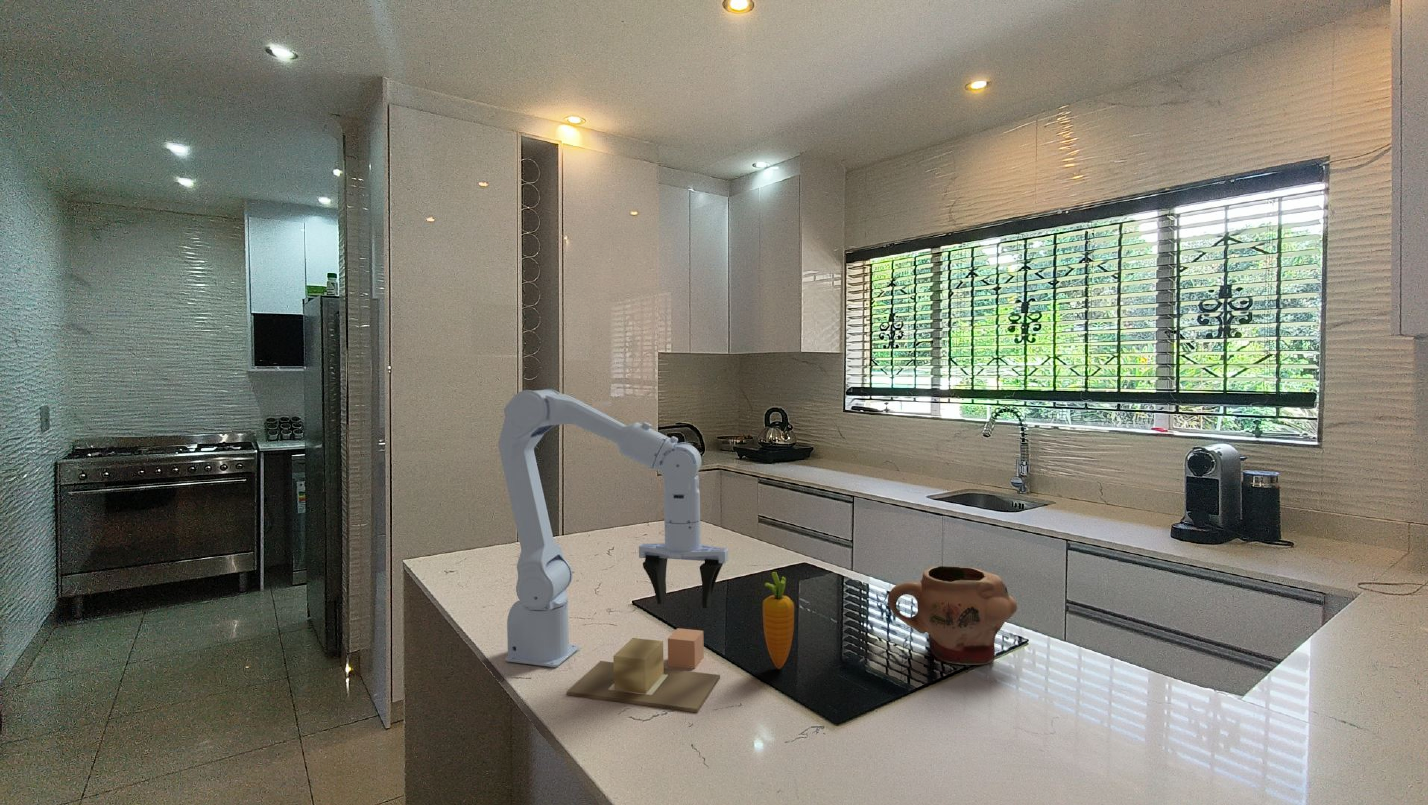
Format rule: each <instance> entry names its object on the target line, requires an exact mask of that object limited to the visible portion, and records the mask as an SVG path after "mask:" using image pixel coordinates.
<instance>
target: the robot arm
mask: <svg viewBox="0 0 1428 805" xmlns="http://www.w3.org/2000/svg"><path fill="white" fill-rule="evenodd" d="M503 413H504V420H503V424H502V428H501V431H500V436H499V438H498V442H497V443H498V444H497V446H498V451H499V455H500V460H501V464H502V470H503V474H504V477H505V482H506V487H507V491H508V496H509V500H510V505H511V509H512V512H513V513H512V514H513V519H514V522H515V527H516V532H517V536H518V542H519V545H520V549H521V550H520V553H519V557H518V560H517V563H516V564H517V565H516V570H517V581H516V585H515V592H516V596H517V598H518V600H517V601H515V602H514V603H513V604H512V606H511V607H510V608H509V611H508V614H507V620H506V632H507V639H506V640H507V656H506V657H505V658H504V659H505V660H504V661H505V662H507V663H508V662H509V663H516V664H517V663H518V664H525V665H533V666H540V667H541V666H542V667H551V668H557V667H558V666H560V665H561V664H562V663H563V662H565V661H566V660H567V659H569V658H570V657H571V656H573V654H575V653H576V652H577V651H578V650H579V649H580V646H579V645H576V644H575V645H574V644H570V638H569V637H570V633H569V632H570V630H569V628H570V626H569V596H568V595H567V588H568V587H570V585H571V583H572V580H573V570H572V566H571V565H570V563H569V562H568V561H567V560H566V558H565V556H564V553H563V549H562V547H561V546H560V545H559V544H558V543H557V542H556V541H555V539H554V535H553V531H552V526H551V523H550V522H551V521H550V518H549V513H548V508H547V503H546V499H545V495H544V489H543V487H542V486H543V485H542V482H541V478H540V472H539V469H538V464H537V459H536V454H535V448H536V446H537V445H538V443H539V442H540V441H541V439H542V438H543V437H544V436H545V434H546V433H547V432H549V431H550V430H552V428H554V427H555V426H560V425H574V426H576V427H579V428H581V429H582V430H583V429H584V430H586V431H589V432H591V433H592V434H594V435H597V436H600V437H602V438H604V439H606V440H609V441H611V442H613V443H616V444H617V446H618V449H619V452H620V453H621V455H622V456H623V457H624V456H625V457H626V458H629V459H631V460H633V461H635V462H637V463H639V464H641V465H643V466H645V467H647V468H649V469H650V470H654V471H656V472H657V471H659V472H660V475H661V476H662V479H664V491H663V504H664V505H663V506H664V507H663V508H664V509H663V511H664V542H663V543H646V542H645V543H644V542H643V543H642V544H641V545H638V558H639V559H644V561H643V562H642V568H643V569H644V571H645V573H646V575H647V576H648V579H649V580H650V582H651V585H652V588H653V592H654V595H655V598H656V603H657V605H662V604H663V603H664V602H666V601H667V567H668V559H670V560H681V561H682V560H683V561H684V560H686V561H697V562H698V561H700V562H704V563H702V564H701V565H700V566H699V572H700V579H701V586H702V590H701V591H702V595H701V598H702V599H701V600H702V601H701V604H702V608H703V609H708V608H709V607H710V606H711V604H712V603H711V602H712V597H713V592H714V588H715V584H716V581H717V579H718V576H719V574H720V572H721V569H722V567H723V565H725V564H726V563H727V562H728V561H729V548H727V547H717V546H713V545H712V546H711V545H707V544H706V545H705V544H701V540H702V539H701V537H702V536H701V492H700V487H699V486H700V480H699V478H700V477H699V474H698V473H699V471H700V469H701V467H702V456H701V453H700V451H699V450H698V448H696V447H695V446H693V445H692V444H691V443H690V442H686V441H685V442H679V438H678V437H676V436H671V437H669V436H667V435H665V434H663V433H661V432H659V431H656V430H655V429H653V428H652V427H653V425H652V424H651V423H649V422H647V421H645V422H642V423H640V422H638V421H636V422H633V423H630V424H628V425H627V424H624V423H622V422H621V421H619V420H617V419H616V418H613V417H611V416H610V415H607V414H605V413H604V412H602V411H600V410H598V409H596V408H594V407H593V406H590V404H589V405H588V404H586V403H584V402H583V401H581V400H579V399H577V398H575V397H573V396H571V395H568V394H565V393H560V392H559V391H557V390H555V389H551V388H545V389H541V390H540V389H539V390H531V389H525V390H521V391H519V392H518V393H516V394H515V395H513V397H512V398H511V399H510V400H509V401H508V403H507V404H506V406H505V407H504V408H503Z"/></svg>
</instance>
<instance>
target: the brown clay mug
mask: <svg viewBox="0 0 1428 805" xmlns="http://www.w3.org/2000/svg"><path fill="white" fill-rule="evenodd" d="M905 595H909V596H911V597H913V598H914V599H915V600H916V603H917V612H916V614H915V615H912V616H911V617H910V616H909V617H907V616H905V615H903V614H902V613H901V612H900V611H899V608H897V603H898V601H899V599H900V598H901V597H902V596H905ZM887 603H888V606H889V609H890V610H891V613H893V615H895V616H896V617H897V618H898V619H899V620H901V622H903V623H905V625H906V626H908V627H910V628H912V629H913V630H915V631H916V632H918V633H919V634H923V635H924V634H926V633H928V639H929V640H928V642H929V649H930V652H931V653H932V654H933V655H934V657H936V658H937V659H938V660H941V661H943V662H946V663H948V664H949V663H950V664H955V665H956V664H957V665H965V666H967V665H968V666H970V665H971V666H972V665H973V666H974V665H975V666H976V665H977V666H978V665H986V664H990V663H991V662H992V661H993V660H995V657H996V655H995V654H996V653H995V652H996V650H995V638H996V636H997V634H998V632H999V631H1000V630H1001V629H1002V628H1003V626H1004V624H1005V623H1006V622H1007V621H1008V620H1009V619H1011V617H1013V615H1015V614H1016V612H1017V609H1018V605H1017V601H1016V600H1015V599H1014V597H1013V596H1011V595H1010V594H1009V592H1008V588H1007V585H1006V584H1005V582H1004V581H1003V579H1002V578H1001V577H1000V576H999V575H997V574H994V573H991V572H987V571H984V570H982V569H979V568H975V567H967V566H966V567H962V566H950V565H947V566H946V565H941V566H940V565H938V566H932V567H928V568H927V569H925V570H924V572H923V573H922V579H921V580H919V581H916V582H915V581H914V582H912V581H909V582H902V583H899V584H896V585H894V587H893V588H892V589H890V591H889V593H888V597H887Z"/></svg>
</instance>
